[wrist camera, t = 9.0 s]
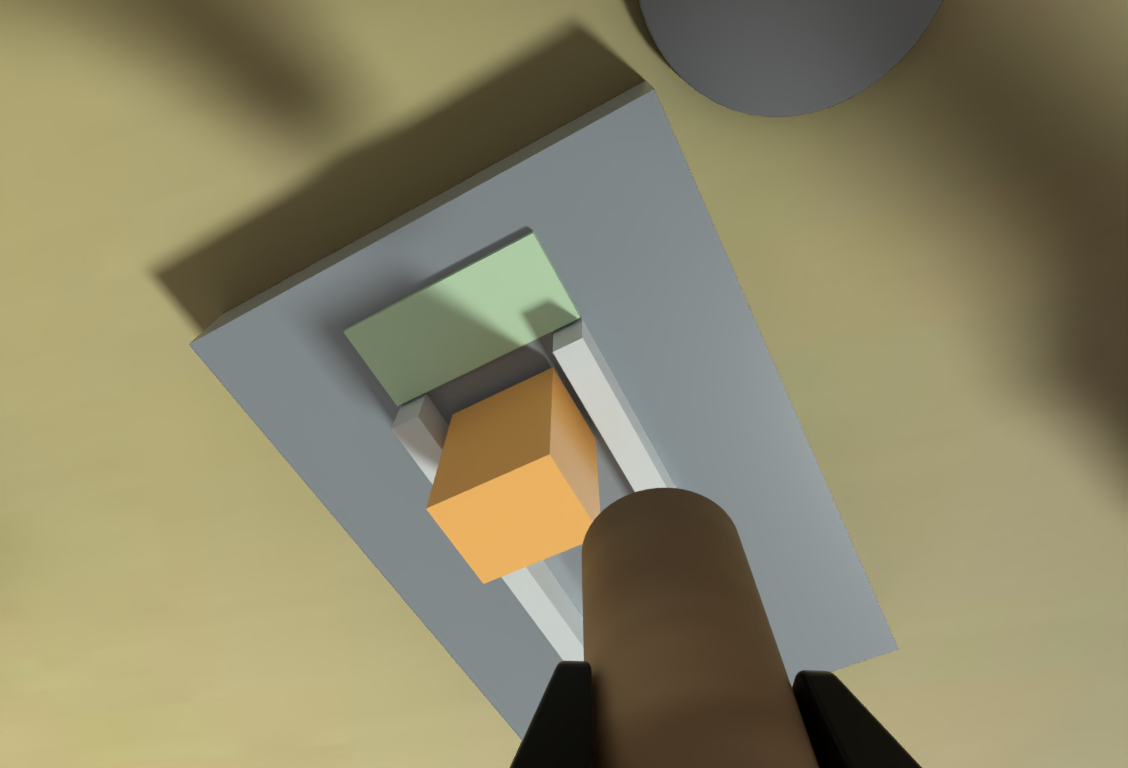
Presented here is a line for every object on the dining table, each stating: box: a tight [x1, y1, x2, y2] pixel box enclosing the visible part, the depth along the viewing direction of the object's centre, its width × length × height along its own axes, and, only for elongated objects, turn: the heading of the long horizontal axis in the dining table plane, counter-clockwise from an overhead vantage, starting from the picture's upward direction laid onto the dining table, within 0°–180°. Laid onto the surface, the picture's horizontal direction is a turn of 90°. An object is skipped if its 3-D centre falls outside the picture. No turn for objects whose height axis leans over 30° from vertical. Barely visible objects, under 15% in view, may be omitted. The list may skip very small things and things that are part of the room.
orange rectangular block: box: [426, 367, 600, 584], centre depth 17 cm, size 2×3×4 cm
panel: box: [189, 80, 898, 740], centre depth 21 cm, size 19×13×3 cm
